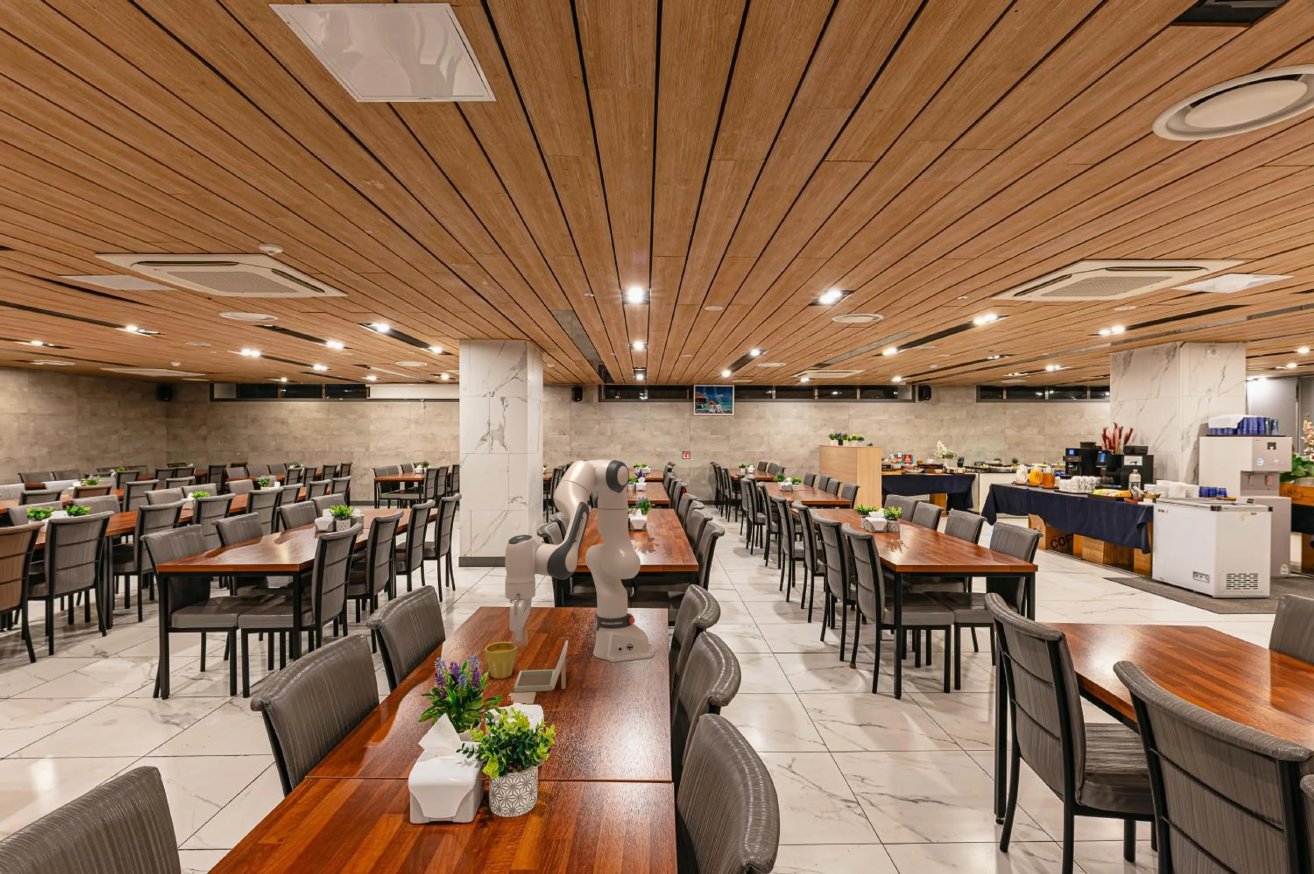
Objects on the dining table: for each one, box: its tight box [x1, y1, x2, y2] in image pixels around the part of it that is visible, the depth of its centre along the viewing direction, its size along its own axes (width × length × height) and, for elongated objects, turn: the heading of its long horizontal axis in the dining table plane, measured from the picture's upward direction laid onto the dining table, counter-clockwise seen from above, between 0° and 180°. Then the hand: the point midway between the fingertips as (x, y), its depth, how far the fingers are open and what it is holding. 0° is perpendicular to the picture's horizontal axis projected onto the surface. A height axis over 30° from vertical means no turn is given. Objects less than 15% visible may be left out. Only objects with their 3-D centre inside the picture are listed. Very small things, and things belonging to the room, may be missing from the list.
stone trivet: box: [507, 691, 537, 705], centre depth 181 cm, size 8×8×1 cm
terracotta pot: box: [512, 618, 530, 648], centre depth 182 cm, size 5×5×7 cm
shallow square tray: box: [513, 668, 556, 693], centre depth 194 cm, size 12×14×2 cm
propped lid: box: [552, 640, 569, 690], centre depth 194 cm, size 4×14×12 cm, turn 5°
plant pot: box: [484, 641, 518, 680], centre depth 201 cm, size 10×10×10 cm
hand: (520, 636), depth 182 cm, fingers closed on terracotta pot, 4 cm apart
